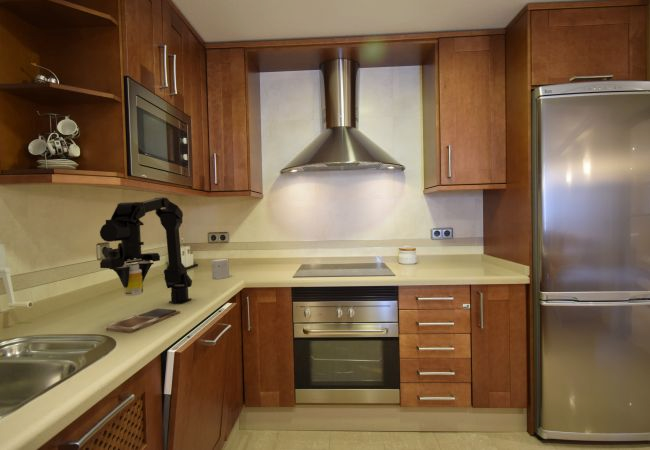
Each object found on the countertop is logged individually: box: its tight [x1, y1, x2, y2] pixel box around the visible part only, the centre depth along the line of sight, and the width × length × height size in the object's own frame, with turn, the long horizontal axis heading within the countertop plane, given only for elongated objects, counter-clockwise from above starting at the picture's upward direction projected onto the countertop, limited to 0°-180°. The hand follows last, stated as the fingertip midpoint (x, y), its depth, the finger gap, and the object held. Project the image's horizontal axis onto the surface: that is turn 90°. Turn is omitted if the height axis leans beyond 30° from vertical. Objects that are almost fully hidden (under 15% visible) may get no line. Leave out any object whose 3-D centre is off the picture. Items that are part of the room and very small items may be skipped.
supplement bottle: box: [123, 263, 144, 297], centre depth 114 cm, size 6×6×10 cm
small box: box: [210, 258, 230, 280], centre depth 191 cm, size 8×6×10 cm
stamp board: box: [105, 308, 181, 334], centre depth 119 cm, size 21×11×1 cm, turn 160°
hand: (133, 285), depth 114 cm, fingers closed on supplement bottle, 5 cm apart
